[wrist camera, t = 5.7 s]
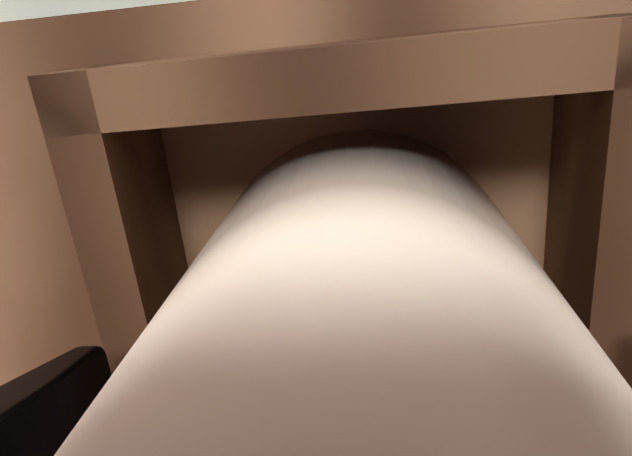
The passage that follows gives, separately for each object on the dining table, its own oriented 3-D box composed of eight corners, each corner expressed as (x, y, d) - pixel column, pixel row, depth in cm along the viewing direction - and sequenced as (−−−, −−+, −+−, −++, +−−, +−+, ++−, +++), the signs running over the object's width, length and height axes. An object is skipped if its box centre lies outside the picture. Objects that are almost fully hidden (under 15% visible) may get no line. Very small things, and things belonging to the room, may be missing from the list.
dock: (884, -72, 10) (1153, -124, 6) (704, 640, 17) (787, 789, 13) (-99, 37, 12) (-275, 40, 9) (108, 624, 19) (55, 749, 16)
